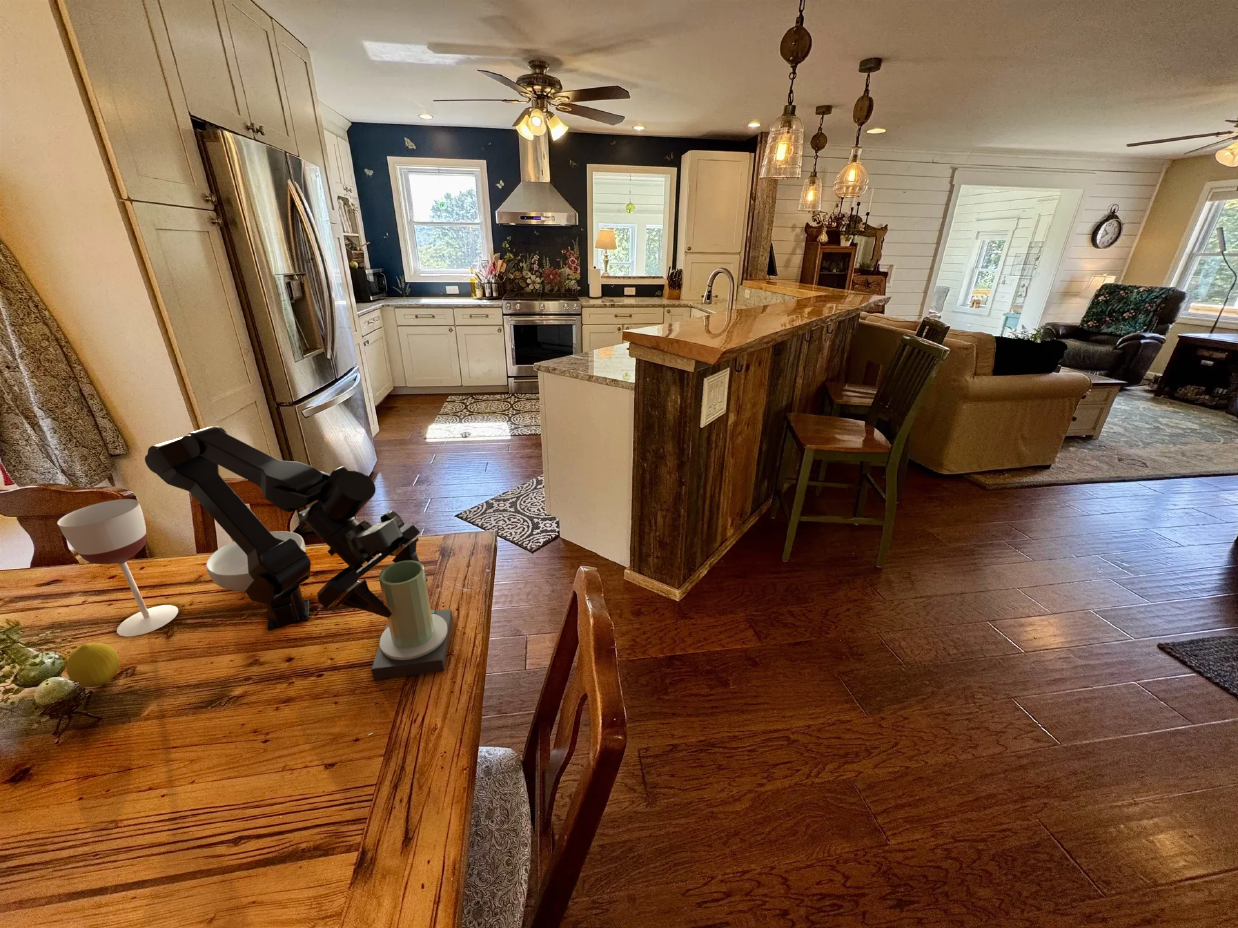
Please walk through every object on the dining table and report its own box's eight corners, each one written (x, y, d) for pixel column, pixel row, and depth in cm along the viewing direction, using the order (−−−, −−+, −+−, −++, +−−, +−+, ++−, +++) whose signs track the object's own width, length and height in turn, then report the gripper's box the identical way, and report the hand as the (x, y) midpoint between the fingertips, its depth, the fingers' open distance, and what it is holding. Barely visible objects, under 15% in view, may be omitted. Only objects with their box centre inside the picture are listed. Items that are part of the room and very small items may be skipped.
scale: (391, 625, 92) (388, 613, 91) (452, 618, 94) (451, 606, 93) (373, 680, 80) (370, 666, 79) (444, 670, 82) (441, 657, 81)
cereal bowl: (290, 600, 98) (281, 570, 95) (197, 608, 95) (185, 578, 93) (323, 553, 114) (316, 527, 111) (243, 559, 111) (234, 532, 108)
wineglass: (100, 630, 90) (45, 520, 81) (164, 598, 98) (120, 495, 89) (130, 644, 86) (75, 531, 78) (193, 610, 95) (151, 504, 86)
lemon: (97, 701, 76) (75, 661, 72) (69, 694, 77) (47, 655, 73) (136, 673, 81) (117, 635, 77) (109, 668, 82) (90, 630, 78)
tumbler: (386, 649, 82) (372, 585, 77) (399, 621, 89) (387, 560, 83) (428, 647, 83) (417, 583, 78) (438, 619, 89) (428, 559, 84)
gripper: (315, 535, 69) (394, 613, 71) (403, 482, 86) (465, 546, 87) (285, 571, 74) (359, 644, 76) (373, 514, 91) (433, 575, 92)
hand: (408, 598), depth 83 cm, fingers open, 9 cm apart
